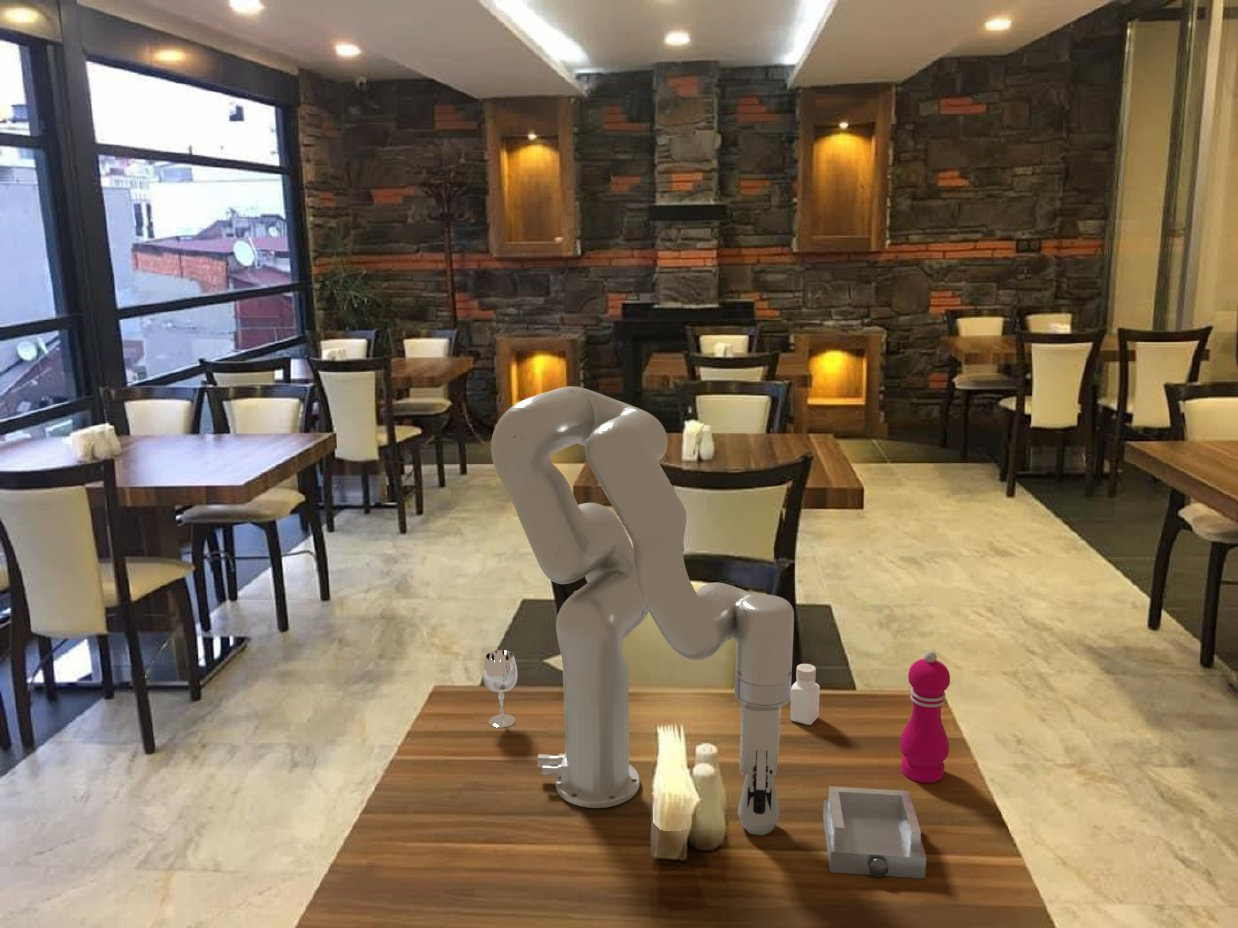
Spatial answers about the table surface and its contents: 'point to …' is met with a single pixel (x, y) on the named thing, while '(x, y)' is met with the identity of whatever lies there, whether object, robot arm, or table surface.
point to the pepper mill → (926, 722)
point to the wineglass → (500, 681)
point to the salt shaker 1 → (758, 822)
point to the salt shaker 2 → (805, 695)
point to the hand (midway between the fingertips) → (758, 805)
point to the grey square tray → (873, 833)
